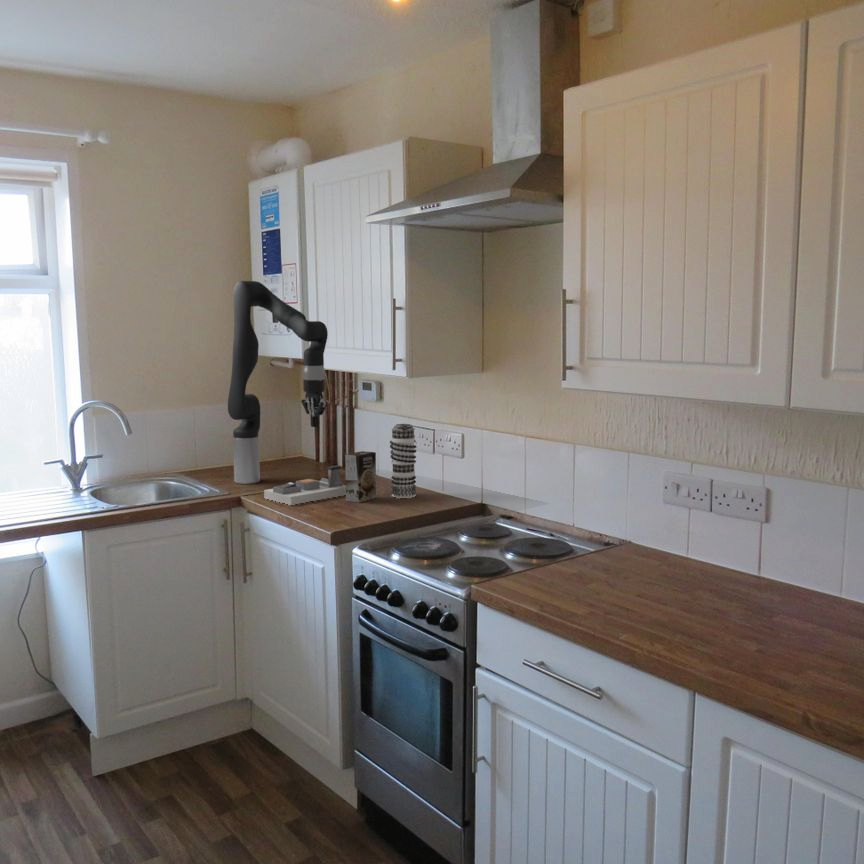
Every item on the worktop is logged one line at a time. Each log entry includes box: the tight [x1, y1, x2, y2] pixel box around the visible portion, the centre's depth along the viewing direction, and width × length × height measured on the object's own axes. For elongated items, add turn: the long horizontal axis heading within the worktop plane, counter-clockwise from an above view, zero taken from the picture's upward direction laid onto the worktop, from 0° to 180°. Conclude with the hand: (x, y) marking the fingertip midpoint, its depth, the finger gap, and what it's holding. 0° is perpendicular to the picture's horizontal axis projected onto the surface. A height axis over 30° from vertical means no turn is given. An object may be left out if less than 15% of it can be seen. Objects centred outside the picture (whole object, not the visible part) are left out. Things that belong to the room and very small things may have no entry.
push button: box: [298, 478, 316, 483], centre depth 295 cm, size 4×4×2 cm
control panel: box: [263, 477, 346, 506], centre depth 295 cm, size 16×25×6 cm, turn 134°
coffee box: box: [344, 450, 377, 504], centre depth 289 cm, size 9×6×16 cm
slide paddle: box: [326, 465, 342, 487], centre depth 298 cm, size 2×4×7 cm, turn 134°
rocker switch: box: [277, 482, 296, 489], centre depth 289 cm, size 4×5×1 cm
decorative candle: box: [389, 423, 417, 499], centre depth 294 cm, size 9×9×25 cm
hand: (314, 426), depth 303 cm, fingers closed
